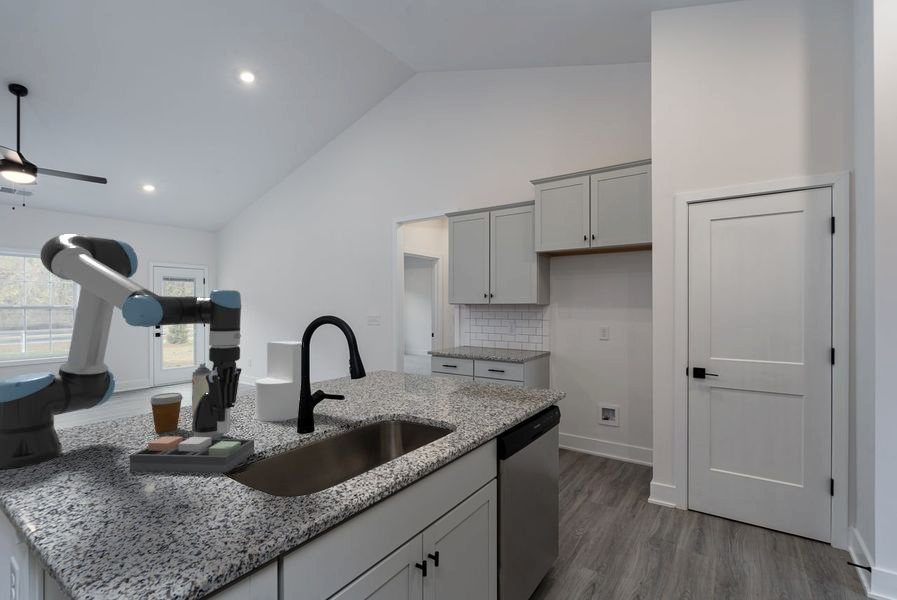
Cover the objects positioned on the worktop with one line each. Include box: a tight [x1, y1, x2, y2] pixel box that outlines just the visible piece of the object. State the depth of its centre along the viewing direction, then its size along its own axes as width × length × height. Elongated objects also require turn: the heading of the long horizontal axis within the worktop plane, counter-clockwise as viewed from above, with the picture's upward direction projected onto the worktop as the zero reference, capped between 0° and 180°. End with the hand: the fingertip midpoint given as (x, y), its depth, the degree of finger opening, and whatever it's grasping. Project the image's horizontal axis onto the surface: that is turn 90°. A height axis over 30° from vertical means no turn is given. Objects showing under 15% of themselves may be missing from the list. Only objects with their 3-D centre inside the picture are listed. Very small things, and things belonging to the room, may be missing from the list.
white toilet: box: [254, 340, 303, 422], centre depth 164 cm, size 17×17×28 cm
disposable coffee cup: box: [149, 392, 184, 434], centre depth 145 cm, size 10×10×12 cm
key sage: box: [209, 441, 241, 456], centre depth 116 cm, size 6×6×2 cm
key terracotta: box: [148, 435, 183, 451], centre depth 117 cm, size 6×6×2 cm
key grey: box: [178, 436, 211, 451], centre depth 116 cm, size 6×6×2 cm
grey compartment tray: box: [129, 437, 255, 474], centre depth 116 cm, size 26×14×4 cm, turn 86°
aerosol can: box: [191, 363, 213, 418], centre depth 164 cm, size 7×7×20 cm
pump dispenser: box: [191, 392, 226, 439], centre depth 136 cm, size 10×10×15 cm
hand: (223, 432), depth 116 cm, fingers closed
